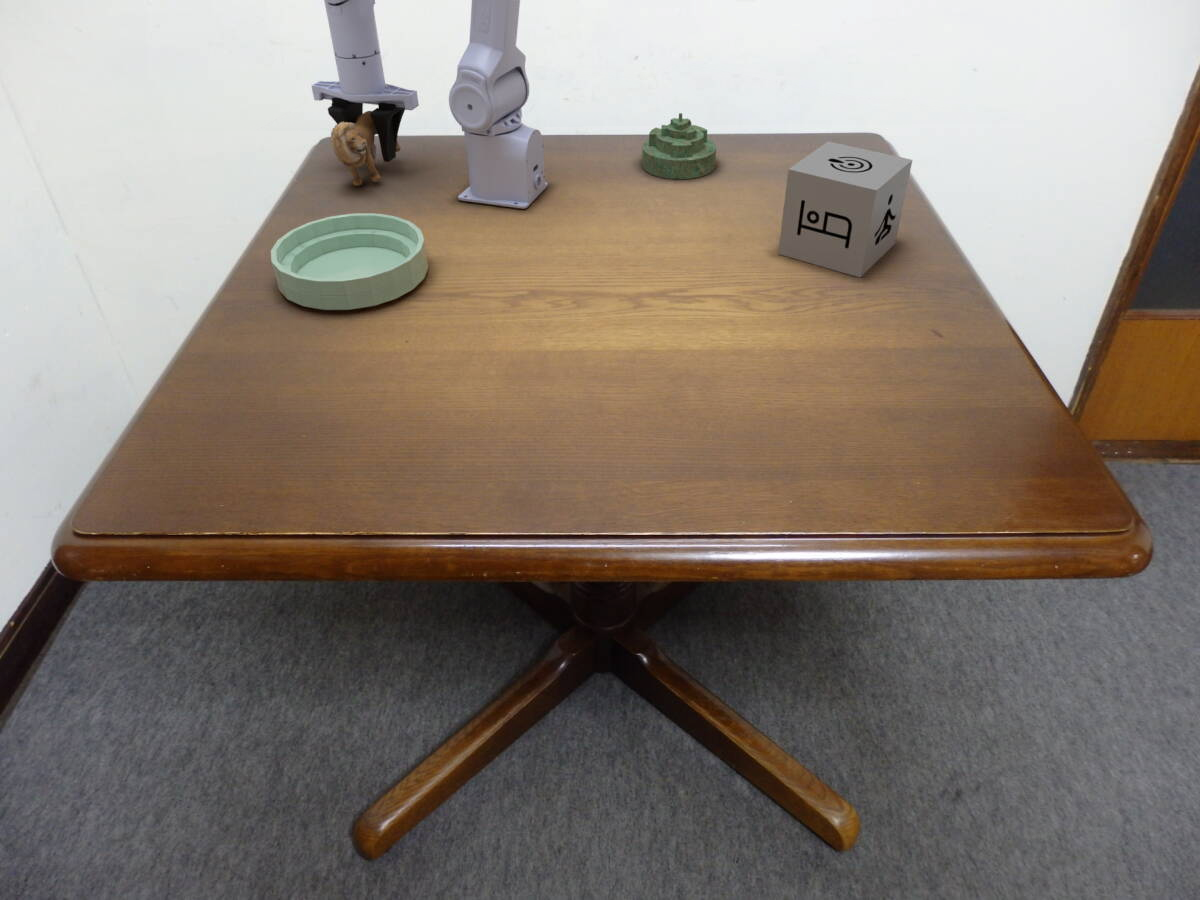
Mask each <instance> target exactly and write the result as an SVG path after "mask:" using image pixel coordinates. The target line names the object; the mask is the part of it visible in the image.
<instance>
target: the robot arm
mask: <svg viewBox="0 0 1200 900" xmlns="http://www.w3.org/2000/svg"><path fill="white" fill-rule="evenodd" d="M323 1H324V6H325V11H326V17H327V21H328V27H329V32H330V38H331V44H332V47H333V54H334V59H335V60H334V61H335V66H336V71H337V75H338V80H339V81H329V80H328V81H325V80H318V81H317V82H315V83H312V84H311V91H312V96H313V100H314V101H319V102H320V101H323V100H329V101H331V106H329V107H327V112H328V115H329V116H330V117H331V118H332V120H333V121H334V122H335V123H336V125H337V124H339V123H341V122H347V123H356V120H357V118H358V117H359V116H360V115H361V114H363V113H364V112H363V111H364V105H365V104H366V105H373V106H378V107H376V108H374V109H373V110H371V111H372V112H370V116H371V118H372V120H373V122H374V125H375V127H376V130H377V133H378V135H377V136H378V140H379V146H380V151H381V155H382V159H383V162H387V163H389V162H391V161H393V160H394V159H395V158H396V157H397V152H396V143H397V142H398V135H399V129H400V125H401V121H402V119H403V116H404V114H405V111H414V110H415V109H417V108H418V107H419V105H420V104H419V96H418V91H417V90H413V89H407V88H403V87H401V86H397V85H393V84H389V83H387V82H386V78H385V73H384V72H385V71H384V66H383V61H382V53H381V48H380V41H379V34H378V28H377V21H376V16H375V9H374V8H375V4H376V0H323ZM520 5H521V0H471V6H470V7H471V8H470V9H471V10H470V23H469V24H470V27H469V42H468V45H467V47H466V49H465V50H464V52H463V54H462V56H461V58H460V60H459V62H458V64H457V67H456V68H457V69H456V71H457V72H456V78H455V81H454V83H453V85H452V86H451V88H450V90H449V94H448V106H449V110H450V112H451V114H452V116H453V118H454V120H455V121H456V123H457V124H458V125H459V126H460V127H461V131H462V132H463V133H464V134H463V135H464V142H465V143H464V145H465V153H466V163H467V170H468V182H469V186H467V188H466V189H464V190H463V191H462V192H461V193H460V194H459V195H458V196H457V199H458V200H459V201H462V202H471V203H476V204H484V205H490V206H491V205H492V206H499V207H506V208H507V207H508V208H514V209H520V210H521V209H523V210H524V209H527V208H529V206H530V205H531V204H532V203H533V202H534V201H535V200H536V199H537V198H538V196H540V194H541V193H542V192H543V191H545V189H546V188H547V187H548V185H549V184H548V182H547V181H546V168H545V149H544V148H545V147H544V139H543V136H542V133H541V130H539V129H537V128H533V127H529V126H527V125H525V124H524V123H523V122H522V118H523V112H522V108H523V107H524V106H525V105H526V103H527V102H528V99H529V97H530V83H529V79H528V76H527V73H526V72H527V71H526V59H527V57H526V55H525V54H524V52H522V51H521V50H520V49H519V48H518V46H517V39H518V27H519V16H520V7H521V6H520Z"/></svg>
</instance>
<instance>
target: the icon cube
mask: <svg viewBox="0 0 1200 900" xmlns="http://www.w3.org/2000/svg"><path fill="white" fill-rule="evenodd" d="M912 164H913V159H911V158H906V157H902V156H896V155H892V154H887V153H883V152H878V151H873V150H870V149H865V148H861V147H856V146H852V145H848V144H842V143H838V142H833V141H826V142H825V143H823V144H822V145H821V146H819V147H818V148H817V149H815V150H814V151H812V152H811V153H809V154H808V155H806V156H805V157H803V158H802V159H801V160H800V161H798V162H797V163H794V164H793V165H792V166H791V167H789V168H788V170H787V171H788V172H787V178H786V179H787V180H786V186H785V194H784V203H783V210H782V219H781V226H780V227H781V228H780V235H779V243H778V251H777V254H778V255H780V256H784V257H786V258H787V257H788V258H790V259H795V260H798V261H801V262H805V263H808V264H812V265H815V266H818V267H822V268H825V269H829V270H833V271H836V272H839V273H843V274H845V275H846V274H847V275H849V276H853V277H856V278H861V277H863V276H864V275H865V274H866V273H867V272H868V271H869V270H870V269H871V268H872V267H873V266H874V265H875V264H876V263H877V262H879V260H880V259H881V258H882V257H883V256H884V255H885V254H886V253H888V251H890V250H891V248H893V246H895V244H896V240H897V236H898V232H899V226H900V222H901V217H902V212H903V207H904V203H905V198H906V194H907V189H908V183H909V178H910V175H911V170H912Z"/></svg>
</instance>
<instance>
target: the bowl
mask: <svg viewBox="0 0 1200 900" xmlns="http://www.w3.org/2000/svg"><path fill="white" fill-rule="evenodd" d="M270 262H271V266H272V269H273V274H274V277H275V280H276V281H275V282H276V285H277V288H278V290H279V292H280V293H281V294H282V295H283V296H284V298H286V299H287V300H288V301H290V302H292V303H295V304H297V305H299V306H301V307H304V308H305V307H306V308H312V309H316V310H317V309H318V310H322V311H349V310H350V311H352V310H355V309H356V310H357V309H362V308H363V309H364V308H371V307H375V306H378V305H381V304H385V303H388V302H390V301H393V300H396V299H398V298H400V297H402V296H404V295H405V294H407V293H409V292H411V291H413V290H415V288H416V287H418V285H419V284H420V283H422V281H423V280H424V279H425V278H426V275H427V272H428V270H429V261H428V255H427V248H426V240H425V238H424V234H423V231H422V229H420V228H419V226H417V225H416V224H415V223H413V222H412V221H409V220H407V219H404V218H402V217H399V216H397V215H389V214H383V213H377V212H376V213H374V212H373V213H372V212H371V213H370V212H368V213H367V212H366V213H365V212H364V213H363V212H361V213H359V212H358V213H346V214H338V215H331V216H327V217H324V218H320V219H317V220H313V221H309V222H307V223H304V224H301V225H299V226H298V227H295V228H293V229H291V230H289V231H288V232H287V233H285V234H283V236H281V237H280V238H278V239H277V240H276V242H275V243H274V245H273V247H272V248H271V250H270Z"/></svg>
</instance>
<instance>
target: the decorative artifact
mask: <svg viewBox="0 0 1200 900" xmlns="http://www.w3.org/2000/svg"><path fill="white" fill-rule="evenodd" d="M641 149H642V151H641V153H642V154H641V166H642V168H643V170H644V171H645V172H646V173H648V174H650V175H652V176H655V177H658V178H663V179H668V180H669V179H670V180H692V179H698V178H700V177H704V176H706V175H709V174H710V173H712V172H713V171H714V170H715V168H716V167H715V166H716V157H717V145H716V143H715V142H714V141H712V140H711V139H709V138H708V129H707V128H704V127H702V126H700V125H696V124H692V121H691V119H689V118H683V112H679V113H678V118H676V117H673V118H671V119H670V123H669V124H661V128H659V127H654V128H652V129H651V130H650V131H649V133H648V139H647V140H645V141H644V142H643V144H642V147H641Z"/></svg>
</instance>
